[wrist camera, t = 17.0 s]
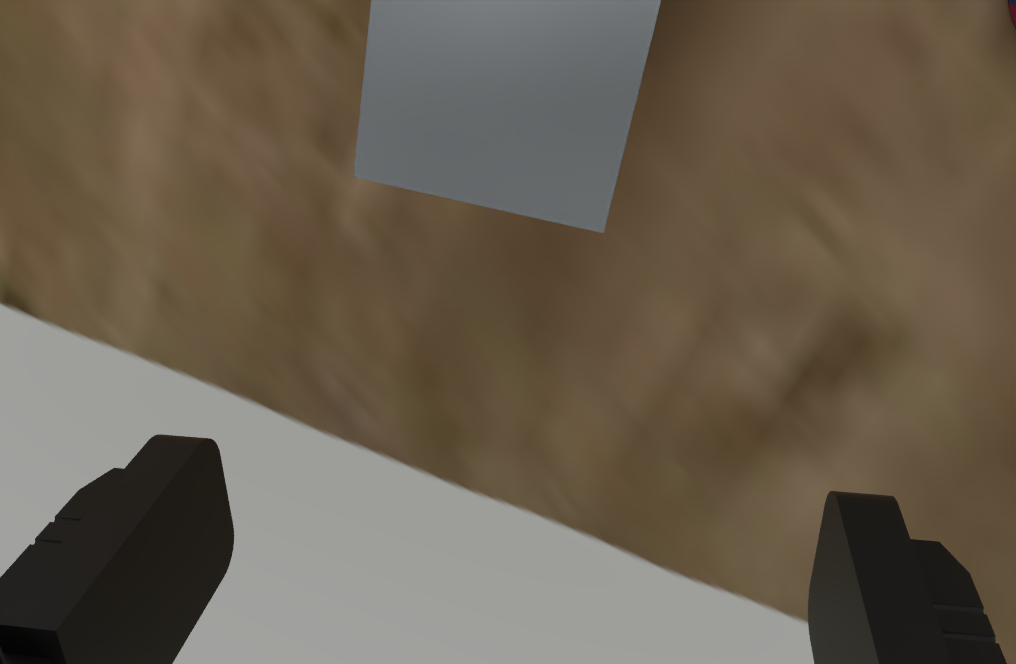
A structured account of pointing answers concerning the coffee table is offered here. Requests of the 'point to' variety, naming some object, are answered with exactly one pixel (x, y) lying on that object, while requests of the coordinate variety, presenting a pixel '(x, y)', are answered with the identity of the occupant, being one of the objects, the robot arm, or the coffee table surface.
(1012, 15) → the mug
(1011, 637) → the coffee table surface
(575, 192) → the gray legged block
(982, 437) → the coffee table surface
